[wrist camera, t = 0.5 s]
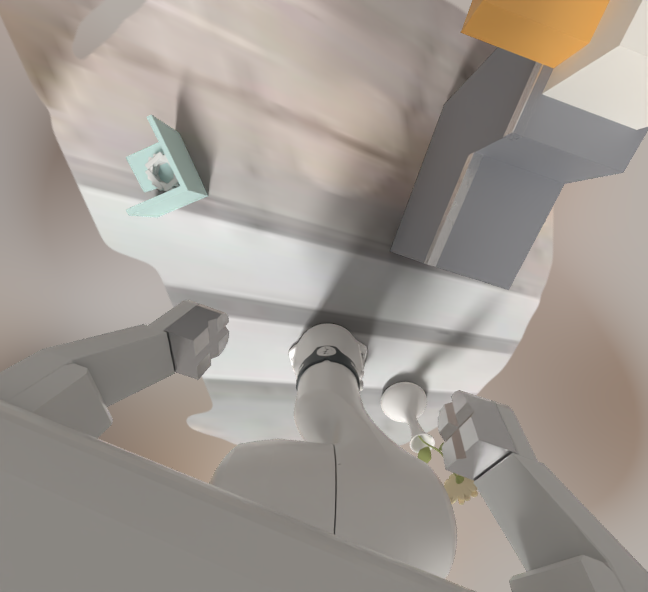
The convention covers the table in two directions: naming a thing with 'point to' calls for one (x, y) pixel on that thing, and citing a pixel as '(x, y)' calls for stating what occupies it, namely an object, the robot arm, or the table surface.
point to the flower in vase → (422, 433)
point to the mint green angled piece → (165, 173)
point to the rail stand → (503, 170)
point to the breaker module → (577, 49)
